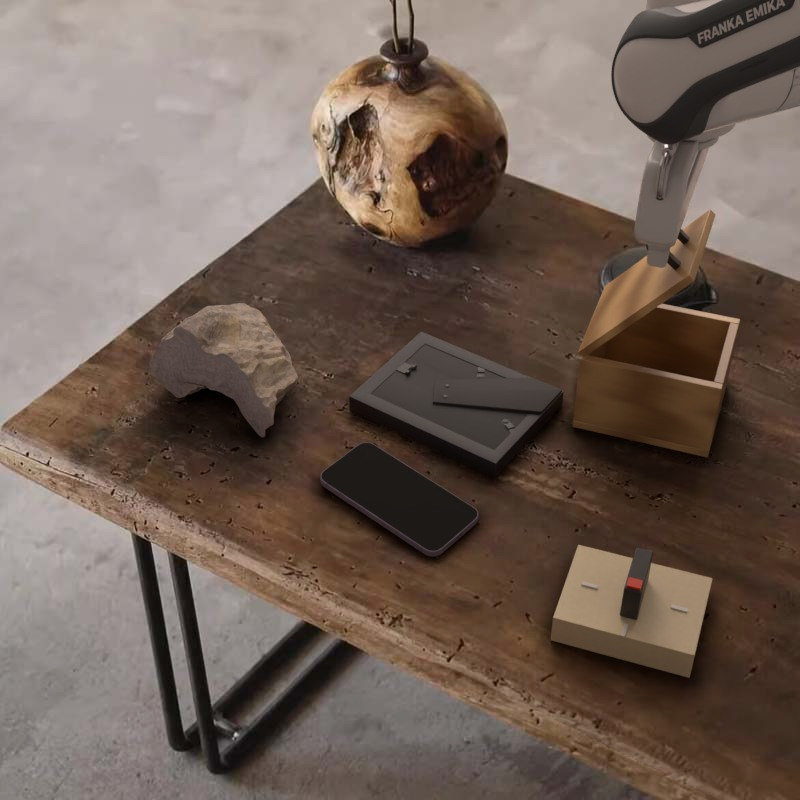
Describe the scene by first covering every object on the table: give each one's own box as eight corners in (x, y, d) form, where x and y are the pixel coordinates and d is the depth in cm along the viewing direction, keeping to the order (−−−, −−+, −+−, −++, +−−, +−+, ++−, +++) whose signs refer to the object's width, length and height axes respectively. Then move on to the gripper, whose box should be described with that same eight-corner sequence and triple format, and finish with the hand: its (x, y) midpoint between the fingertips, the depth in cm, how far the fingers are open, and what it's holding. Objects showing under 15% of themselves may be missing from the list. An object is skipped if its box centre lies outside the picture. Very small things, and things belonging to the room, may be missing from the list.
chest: (726, 386, 139) (740, 319, 134) (707, 458, 131) (721, 389, 125) (598, 359, 143) (606, 292, 137) (572, 427, 134) (579, 359, 129)
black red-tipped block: (631, 574, 115) (636, 544, 113) (648, 578, 115) (653, 549, 112) (619, 616, 112) (624, 586, 109) (636, 620, 111) (642, 591, 109)
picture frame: (562, 405, 137) (421, 345, 145) (564, 388, 136) (421, 328, 143) (495, 478, 129) (348, 410, 136) (496, 461, 127) (348, 393, 135)
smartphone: (433, 555, 120) (315, 476, 127) (433, 563, 121) (315, 484, 128) (483, 512, 124) (366, 438, 131) (482, 520, 125) (365, 446, 132)
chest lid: (715, 214, 127) (683, 182, 126) (694, 281, 119) (659, 246, 118) (609, 291, 137) (578, 261, 136) (583, 358, 128) (549, 326, 127)
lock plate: (707, 600, 117) (713, 576, 115) (689, 679, 110) (694, 655, 108) (575, 566, 120) (578, 542, 118) (549, 641, 113) (552, 617, 111)
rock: (149, 393, 139) (137, 314, 133) (234, 338, 148) (226, 261, 142) (260, 451, 131) (253, 369, 126) (343, 389, 140) (340, 310, 134)
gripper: (703, 162, 105) (681, 303, 114) (741, 56, 120) (718, 189, 129) (625, 149, 107) (609, 290, 116) (672, 46, 122) (654, 178, 130)
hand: (667, 236), depth 122 cm, fingers open, 8 cm apart
